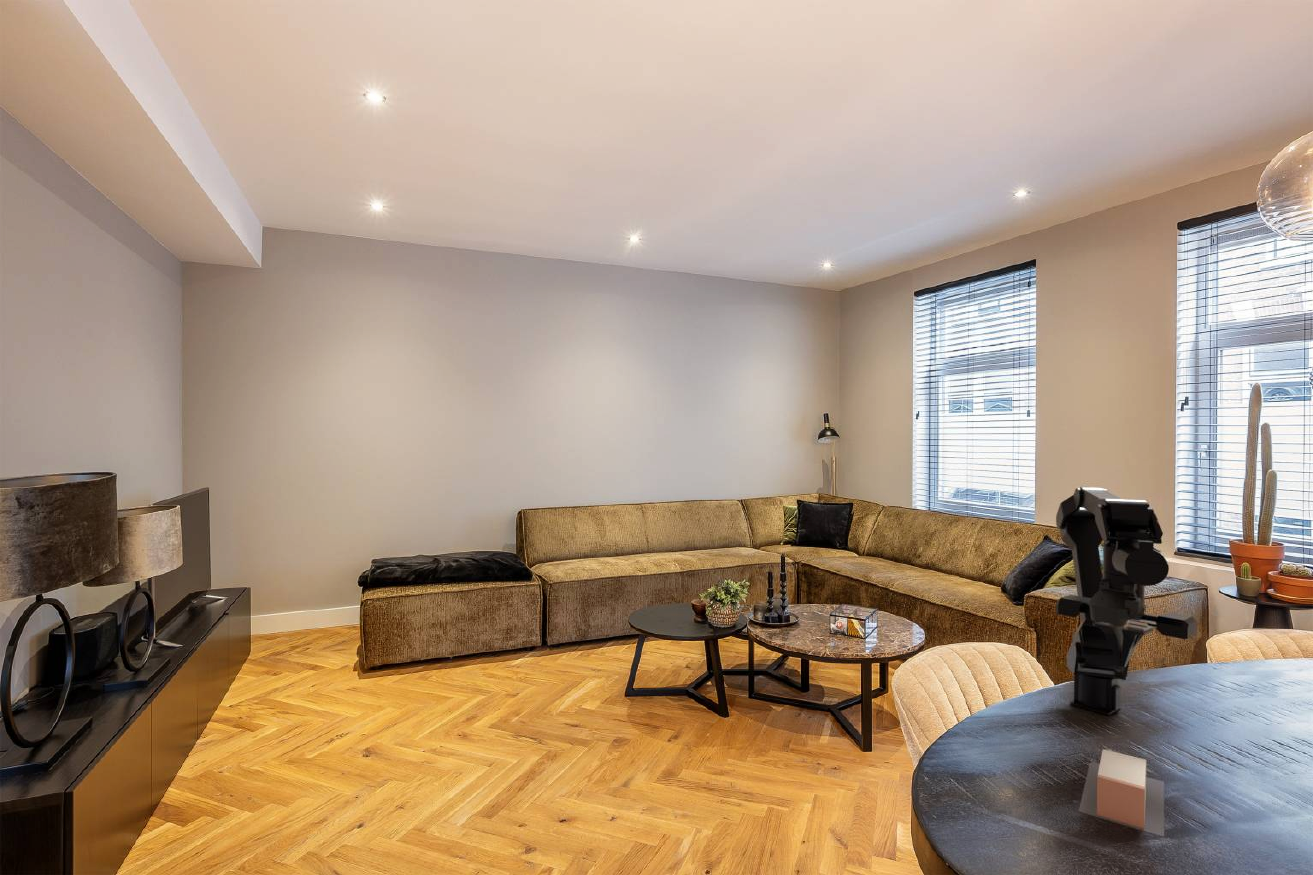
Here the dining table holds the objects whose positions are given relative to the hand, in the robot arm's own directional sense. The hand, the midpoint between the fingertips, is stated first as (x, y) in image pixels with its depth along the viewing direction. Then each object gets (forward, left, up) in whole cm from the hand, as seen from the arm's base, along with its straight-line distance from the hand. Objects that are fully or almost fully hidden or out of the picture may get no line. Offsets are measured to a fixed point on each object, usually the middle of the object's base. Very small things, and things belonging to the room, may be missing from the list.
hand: (1122, 666), depth 111 cm
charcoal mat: (+7, -22, -12) cm, 26 cm away
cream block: (+7, -20, -9) cm, 23 cm away
